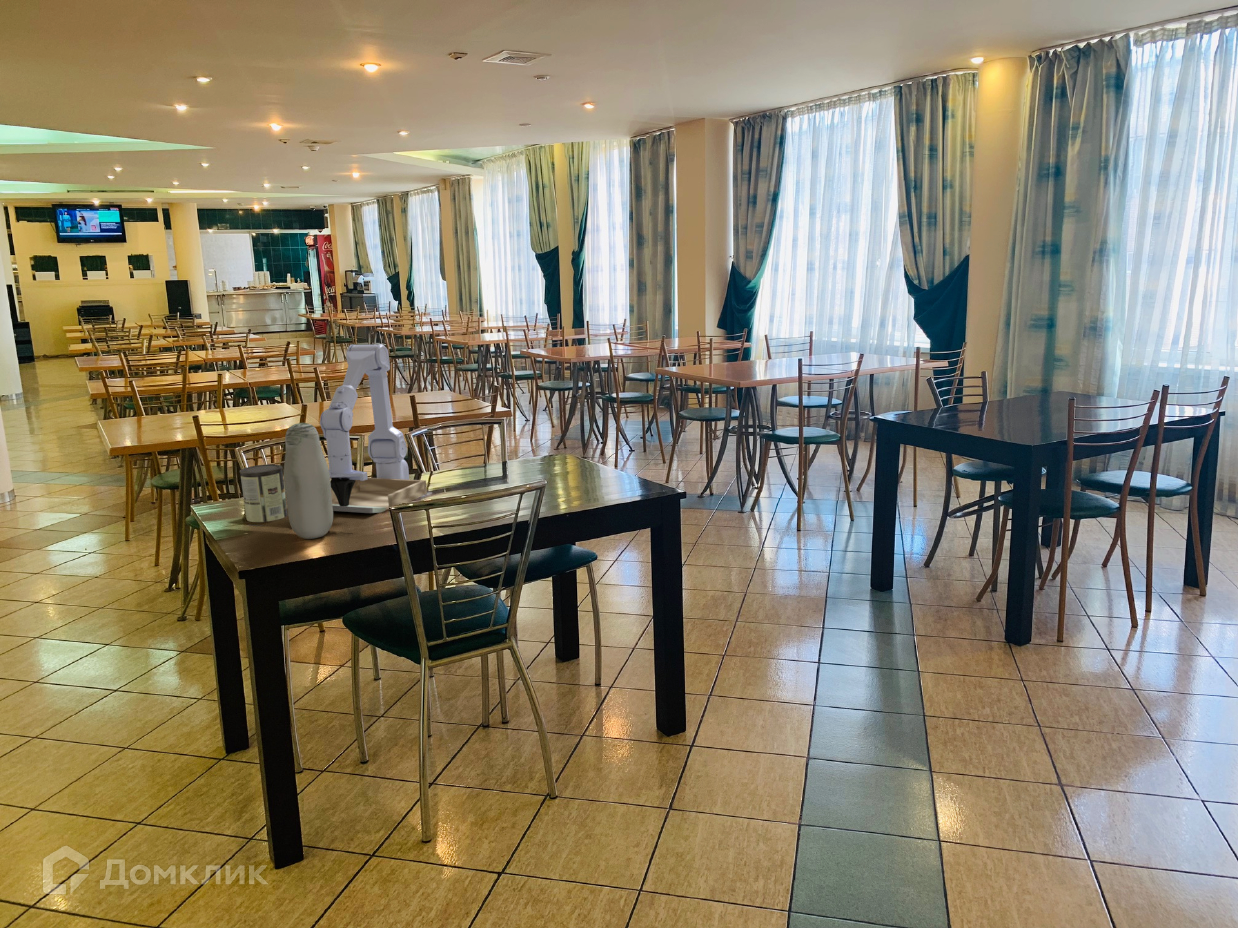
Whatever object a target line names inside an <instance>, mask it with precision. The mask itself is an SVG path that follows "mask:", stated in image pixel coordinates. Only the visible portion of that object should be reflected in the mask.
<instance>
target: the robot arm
mask: <svg viewBox="0 0 1238 928" xmlns="http://www.w3.org/2000/svg"><path fill="white" fill-rule="evenodd" d="M345 356H346V357H345V358H346V363H347V369H346V372H345V376H344V379H343V383H342V385H340V386H338V387H337V388H336V389H335V392H334V394H333V397H332V399H331V402H330V404H329V407H328V409H325V410H324V411H323V412H322V413H321V415H320V419H319V420H320V421H319V425H320V427H321V428H320V429H321V430H322V433H323V438H324V439H326V449H327V458H328V459H327V460H328V469H329V474H330V483H331V488H332V490H333V491H334V493H335V495H336V497H337V500H338V502H339V505H340V506H348V505H349V500H350V495H351V491H352V488H353V486H354V484H355V482H356V480H360V481H364V480H367V479H368V478H369V477H368V472H367V471H360V470H355V469H353V461H352V452H351V439H350V430H351V429H352V427H353V421H354V420H353V417H354V412H353V410H354V408H355V405H356V402H357V400H358V397H359V395H358V393H357V389H358V387H359V385H360V383H361V381H362V379H363V378H364V375H366V376H368V383H369V391H370V398H371V399H370V400H371V409H372V415H373V422H374V430H373V431H371V432H370V433H369V434H368V438H367V439H368V440H367V441H368V442H367V443H368V444H367V453H368V456H369V458H370V459H371V460H373V463H375V469H376V478H386V479H406V480H410V474H409V473H410V472H409V465H408V462H407V461H406V460H405V457H406V455H407V450H408V449H407V443H406V440H405V437H404V433H403V432H402V431H400V430H399V429H398V428H396V427H394V425H393V417H392V415H393V414H392V407H391V399H390V391H389V383H388V373H387V372H388V371H390V369H391V364H390V357H389V350H388V348H387V347H386V346H385V345H384V344H383V343H378V344H350V345H349V346H348V347H347V349H346V355H345Z"/></svg>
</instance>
